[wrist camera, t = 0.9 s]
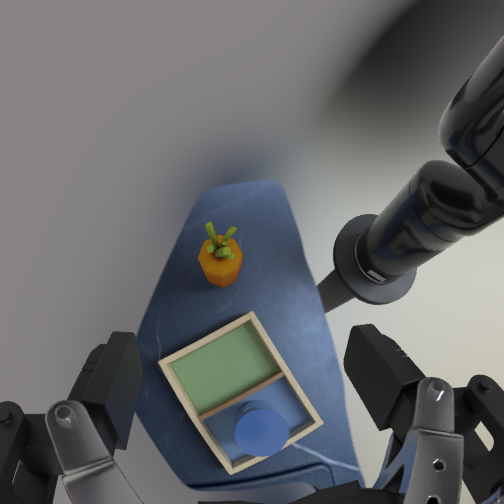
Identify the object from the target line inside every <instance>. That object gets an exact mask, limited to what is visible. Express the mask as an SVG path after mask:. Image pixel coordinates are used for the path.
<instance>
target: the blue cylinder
mask: <svg viewBox="0 0 504 504" xmlns="http://www.w3.org/2000/svg"><path fill="white" fill-rule="evenodd" d="M234 435H235V440H236V443H237V445H238V446H239V447H240V449H241V450H243V451H244V452H245V453H247V454H249V455H252V456H256V457H265V456H270V455H273V454H275V453H277V452H278V451H280V450H281V449H282V448H283V447H284V445H285V444H286V442H287V440H288V437H289V427H288V424H287V422H286V420H285V419H284V418H283V417H282V415H281V414H280V413H279V412H278V410H277V409H276V408H275V407H274V406H273V405H272V404H270V403H268V402H266V401H262V400H253V401H250V402H247V403H245V404H244V405H242V406H241V407H240V408H239V409H238V411H237V413H236V415H235V424H234Z"/></svg>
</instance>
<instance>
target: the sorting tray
mask: <svg viewBox="0 0 504 504" xmlns="http://www.w3.org/2000/svg"><path fill="white" fill-rule="evenodd" d="M158 363H159V365H160V366H161V368H162V370H163V372H164V374H165V376H166V377H167V379H168V381H169V383H170V385H171V386H172V388H173V390H174V392H175V393H176V395H177V397H178V398H179V400H180V402H181V403H182V405H183V407H184V408H185V410H186V412H187V413H188V415H189V416H190V418H191V420H192V421H193V423H194V424H195V426H196V427H197V429H198V430H199V432H200V433H201V435H202V436H203V438H204V439H205V441H206V442H207V444H208V445H209V447H210V448H211V450H212V451H213V452H214V454H215V455H216V457H217V458H218V459H219V461H220V462H221V463H222V465H223V466H224V467H225V469H226V470H227V471H228V473H229V474H230V475H232V474H234V473H235V472H238V471H240V470H243V469H245V468H247V467H249V466H251V465H253V464H255V463H257V462H259V461H261V460H263V459H265V458H267V457H269V456H265V457H256V456H252V455H249V454H247V453H245V452H244V451H243V450H241V449H240V447H239V446H238V445H237V443H236V440H235V435H234V424H235V415H236V413H237V411H238V409H239V408H240V407H241V406H242V405H244V404H245V403H247V402H250V401H253V400H262V401H266V402H268V403H270V404H272V405H273V406H274V407H275V408H276V409H277V410H278V412H279V413H280V414H281V415H282V417H283V418H284V419H285V420H286V422H287V424H288V427H289V437H288V440H287V442H286V444H285V445H284V447H283V448H285V447H287V446H288V445H290V444H292V443H294V442H295V441H297V440H299V439H300V438H302V437H304V436H305V435H307V434H308V433H310V432H312V431H313V430H315V429H316V428H318V427H319V426H321V425H322V424H324V423H323V421H322V420H321V418H320V417H319V415H318V414H317V412H316V411H315V409H314V408H313V406H312V405H311V403H310V402H309V400H308V398H307V397H306V395H305V394H304V392H303V391H302V389H301V387H300V386H299V384H298V383H297V381H296V380H295V378H294V376H293V375H292V373H291V372H290V370H289V369H288V367H287V365H286V364H285V362H284V361H283V359H282V357H281V356H280V354H279V353H278V351H277V349H276V348H275V346H274V344H273V343H272V341H271V340H270V338H269V336H268V335H267V333H266V331H265V330H264V328H263V327H262V325H261V323H260V322H259V320H258V318H257V317H256V315H255V313H254V312H253V311H251V312H249V313H248V314H246V315H244V316H242V317H240V318H239V319H237V320H235V321H233V322H231V323H230V324H228V325H226V326H224V327H222V328H221V329H219V330H217V331H215V332H213V333H211V334H210V335H208V336H206V337H204V338H202V339H200V340H198V341H196V342H195V343H193V344H191V345H189V346H187V347H185V348H183V349H181V350H179V351H177V352H176V353H174V354H172V355H170V356H168V357H166V358H164V359H162V360H160V361H158ZM283 448H282V449H283Z"/></svg>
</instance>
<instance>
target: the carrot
mask: <svg viewBox="0 0 504 504" xmlns="http://www.w3.org/2000/svg"><path fill="white" fill-rule="evenodd" d="M205 228H206V230H207V233H208V235H209V237H210V239H209V240H207V241H204V243H203V246H202V248H201V251H200V253H199V256H198V260H199V262H200V265H201V267H202V269H203V271H204V273H205V275H206V277H207V279H208V281H209V282H210V283H212V284H214V285H217V286H220V287H223V288H224V287H226V286H229V285H231V284H233V283H234V282H235V281H236V280H237V277H238V274H239V271H240V268H241V265H242V260H243V254H242V252H241V250H240V248H239V246H238V244H237V243H236V241H235V240H234V239H231V238H230V237H231V235H232V234H233V233H234V232H235V231H236V230H237V228H236V227H231V228H230V229H229V230H228V231H227V232H226V234H225V235H224V236H221V235H217V236H216V232H215V229H214V226H213V224H212V222H208V223H207V224H206V225H205Z"/></svg>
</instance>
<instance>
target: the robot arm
mask: <svg viewBox="0 0 504 504" xmlns="http://www.w3.org/2000/svg"><path fill="white" fill-rule="evenodd" d="M438 138H439V142H440V144H441V146H442V148H443V149H444V150H445V151H446V153H447V154H448V155H449V156H450V157H451V158H452V159H453V160H454V161H455V162H456V163H457V164H458V165H459V166H460V167H459V166H456V165H454V164H452V163H449V162H446V161H442V160H432V161H428V162H426V163H425V164H423V165H422V166H421V167H420V168H419V170H418V171H417V172H416V173H415V174H414V175H413V177H412V178H411V179H410V180H409V181H408V183H407V184H406V185H405V186H404V187H403V188H402V190H401V191H400V192H399V193H398V194H397V196H396V197H395V198H394V199H393V200H392V201H391V203H390V204H389V205H388V206H387V207H386V208H385V209H384V211H382V213H381V214H380V215H379V216H378V217H377V218H376V219H375V220H374V221H373V223H372V224H371V225H370V226H369V227H368V228H367V229H366V230H365V231H364V232H363V233H362V234H361V235H360V236H359V237H358V238H357V240H356V242H355V245H354V259H355V263H356V265H357V267H358V269H359V271H360V272H361V273H362V274H363V276H364V277H366V278H367V279H368V280H370V281H371V282H373V283H376V284H381V285H385V284H390V283H392V282H394V281H396V280H397V279H398V278H400V277H401V276H403V275H405V274H407V273H408V272H410V271H412V270H413V269H415V268H417V267H418V266H420V265H421V264H423V263H425V262H427V261H428V260H430V259H431V258H433V257H434V256H436V255H438V254H439V253H441V252H442V251H444V250H445V249H447V248H448V247H450V246H451V245H453V244H454V243H456V242H457V241H459V240H460V239H462V238H463V237H465V236H473V235H475V234H477V233H479V232H481V231H483V230H484V229H486V228H487V227H489V226H490V225H492V224H494V223H495V222H497V221H499V220H500V219H502V218H504V36H503V37H502V38H501V39H500V41H499V42H498V43H497V45H496V46H495V47H494V48H493V49H492V51H491V52H490V53H489V54H488V56H487V57H486V58H485V59H484V60H483V62H482V63H481V64H480V65H479V66H478V68H477V69H476V70H475V71H474V72H473V73H472V75H471V76H470V77H469V78H468V79H467V80H466V82H465V83H464V84H463V85H462V87H461V88H460V89H459V90H458V92H457V93H456V94H455V96H454V97H453V98H452V100H451V101H450V103H449V104H448V106H447V108H446V110H445V111H444V113H443V115H442V118H441V120H440V123H439V128H438ZM461 167H462V168H461ZM344 369H345V372H346V374H347V376H348V377H349V379H350V381H351V382H352V384H353V386H354V388H355V389H356V391H357V393H358V394H359V396H360V398H361V400H362V401H363V403H364V405H365V407H366V408H367V410H368V412H369V414H370V415H371V417H372V419H373V421H374V422H375V424H376V426H377V428H378V429H379V431H382V430H385V429H388V428H392V430H393V433H392V435H391V437H390V440H389V444H388V448H387V451H386V455H385V459H384V462H383V465H382V469H381V472H380V475H379V477H378V479H377V481H376V483H375V484H374V486H373V488H361V487H360V484H359V482H358V480H356V481H352V482H349V483H345V484H341V485H337V486H334V487H329V488H325V489H321V490H319V491H317V492H315V493H313V494H311V495H308V496H306V497H303V498H301V499H298V500H296V501H294V502H291V503H288V504H459V501H460V493H461V485H462V479H463V481H464V483H465V485H466V486H467V488H468V490H469V492H470V494H471V495H472V497H473V499H474V501H475V503H476V504H504V391H503V390H502V388H501V387H499V385H498V384H497V383H496V382H495V381H494V380H493V379H492V378H490V377H488V376H485V375H475V376H473V377H472V378H471V379H470V381H469V383H468V385H467V387H461V388H452V387H451V386H450V385H449V384H448V383H447V382H446V381H444V380H442V379H440V378H435V377H428V378H427V377H426V376H425V375H424V374H423V373H422V372H421V371H420V369H419V368H418V367H417V366H416V365H415V364H414V362H413V361H412V360H411V359H410V358H409V357H407V354H406V353H405V352H404V351H403V350H401V348H400V347H399V345H397V343H396V342H395V341H394V340H392V339H391V338H389V337H387V336H386V335H382V334H381V333H380V332H379V331H378V329H377V328H376V327H375V326H374V325H373V324H365V325H356V326H353V327H352V329H351V331H350V335H349V340H348V344H347V348H346V352H345V356H344ZM141 383H142V364H141V360H140V355H139V351H138V346H137V341H136V337H135V334H134V333H133V332H117V331H114V332H113V333H112V334H111V337H110V338H109V340H108V342H107V344H100V345H99V346H97V347H96V348H95V349H94V350H93V351H92V352H91V353H90V355H89V357H88V358H87V361H86V363H85V364H84V366H83V368H82V371H81V372H80V374H79V376H78V378H77V380H76V382H75V384H74V386H73V388H72V390H71V392H70V394H69V396H68V399H67V400H62V401H59V402H56V403H55V404H53V405H52V406H51V407H50V408H49V409H48V410H47V412H46V414H24V413H23V411H22V409H21V408H20V406H19V405H18V404H16V403H14V402H10V401H5V402H1V403H0V504H52V503H53V498H54V493H55V489H56V484H57V479H58V475H64V476H62V482H63V485H64V487H65V490H66V492H67V494H68V496H69V498H70V500H71V502H72V504H144V503H143V501H142V500H141V499H140V497H139V496H138V495H137V493H136V492H135V490H134V489H133V487H132V486H131V485H130V483H129V482H128V480H127V479H126V477H125V476H124V474H123V473H122V471H121V470H120V468H119V467H118V465H117V463H116V462H115V460H114V459H113V456H114V451H115V449H121V450H126V447H127V443H128V438H129V433H130V429H131V424H132V420H133V415H134V411H135V407H136V403H137V399H138V395H139V391H140V387H141ZM480 421H482V423H483V424H484V426H485V427H486V428H487V430H488V431H489V432H490V434H491V435H492V437H493V439H494V445H493V448H492V449H491V451H490V452H489V451H488V449H487V448H486V446H485V445H484V443H483V442H482V440H481V439H480V438H479V436H478V435H477V433H476V432H475V431H474V429H475V428H476V427H477V425H478V424H479V423H480ZM18 462H20V463H19V466H18V469H17V472H16V475H15V478H14V474H15V471H16V468H17V465H18ZM13 478H14V481H13ZM12 481H13V485H12ZM198 504H263V503H252V502H245V501H223V502H222V501H220V502H198Z"/></svg>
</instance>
